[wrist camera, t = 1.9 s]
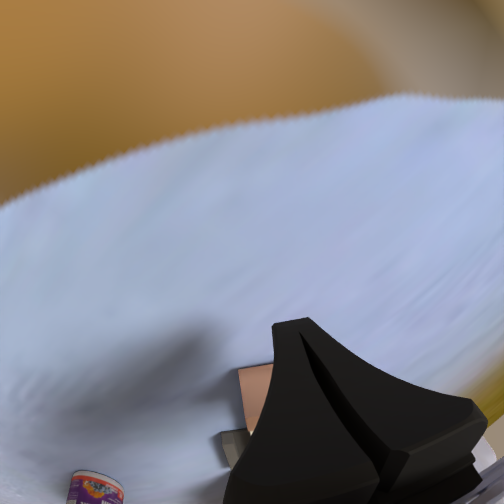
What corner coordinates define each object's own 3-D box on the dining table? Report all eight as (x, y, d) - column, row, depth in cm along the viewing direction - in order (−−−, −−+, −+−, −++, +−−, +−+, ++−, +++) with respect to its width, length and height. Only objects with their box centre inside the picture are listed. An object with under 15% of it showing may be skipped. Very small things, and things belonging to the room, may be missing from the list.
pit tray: (339, 409, 20) (344, 421, 19) (333, 444, 22) (338, 454, 21) (220, 431, 20) (222, 444, 19) (231, 463, 22) (233, 475, 21)
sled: (317, 354, 17) (347, 419, 13) (309, 494, 25) (320, 531, 21) (237, 369, 17) (248, 440, 12) (265, 502, 25) (273, 541, 20)
